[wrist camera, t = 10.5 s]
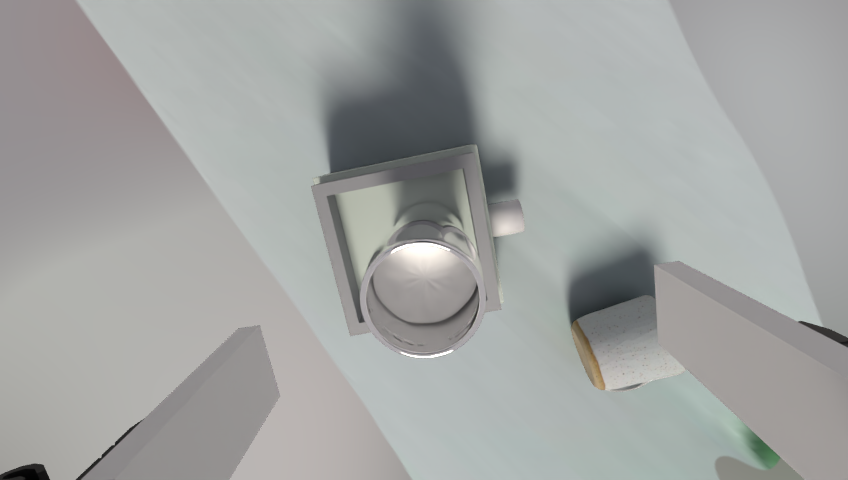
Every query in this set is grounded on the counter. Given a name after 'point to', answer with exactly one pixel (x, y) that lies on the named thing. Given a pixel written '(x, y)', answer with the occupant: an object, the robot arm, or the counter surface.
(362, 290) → the beer glass
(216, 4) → the counter surface
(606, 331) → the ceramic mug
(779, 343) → the robot arm
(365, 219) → the grey box with knob
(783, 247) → the counter surface
